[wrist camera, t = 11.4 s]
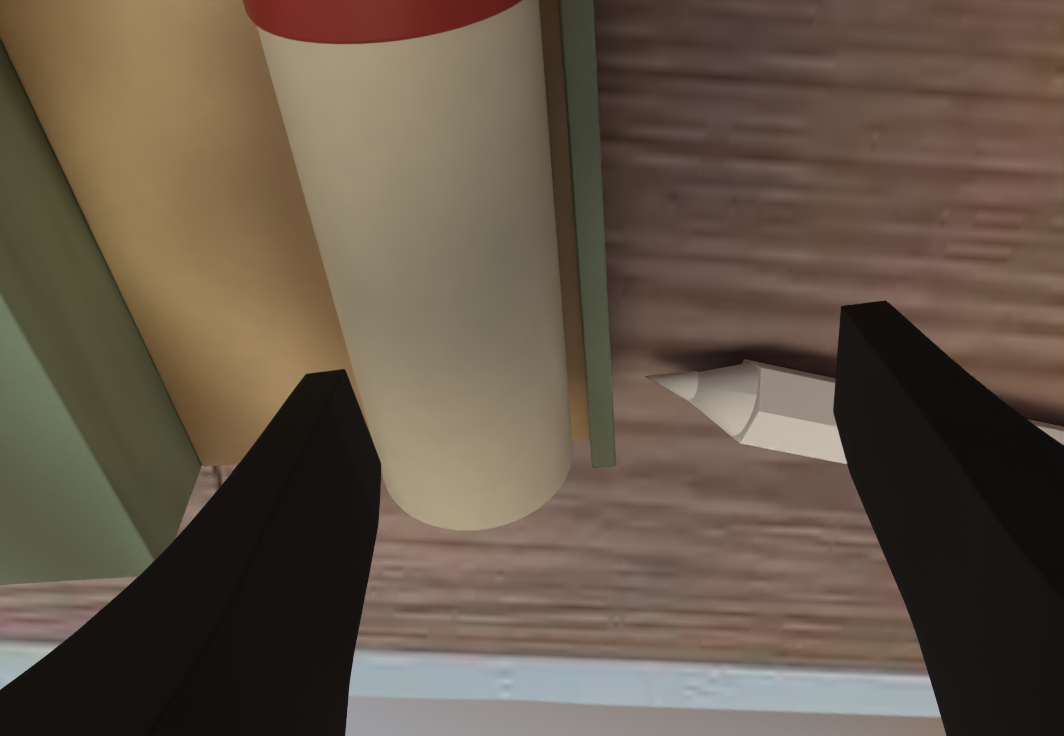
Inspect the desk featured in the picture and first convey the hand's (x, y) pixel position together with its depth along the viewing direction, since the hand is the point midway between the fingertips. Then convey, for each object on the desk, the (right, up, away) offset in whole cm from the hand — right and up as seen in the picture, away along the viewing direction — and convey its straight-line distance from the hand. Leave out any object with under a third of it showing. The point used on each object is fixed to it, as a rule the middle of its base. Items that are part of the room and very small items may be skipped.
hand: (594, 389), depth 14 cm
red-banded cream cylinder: (-5, +4, +4) cm, 7 cm away
